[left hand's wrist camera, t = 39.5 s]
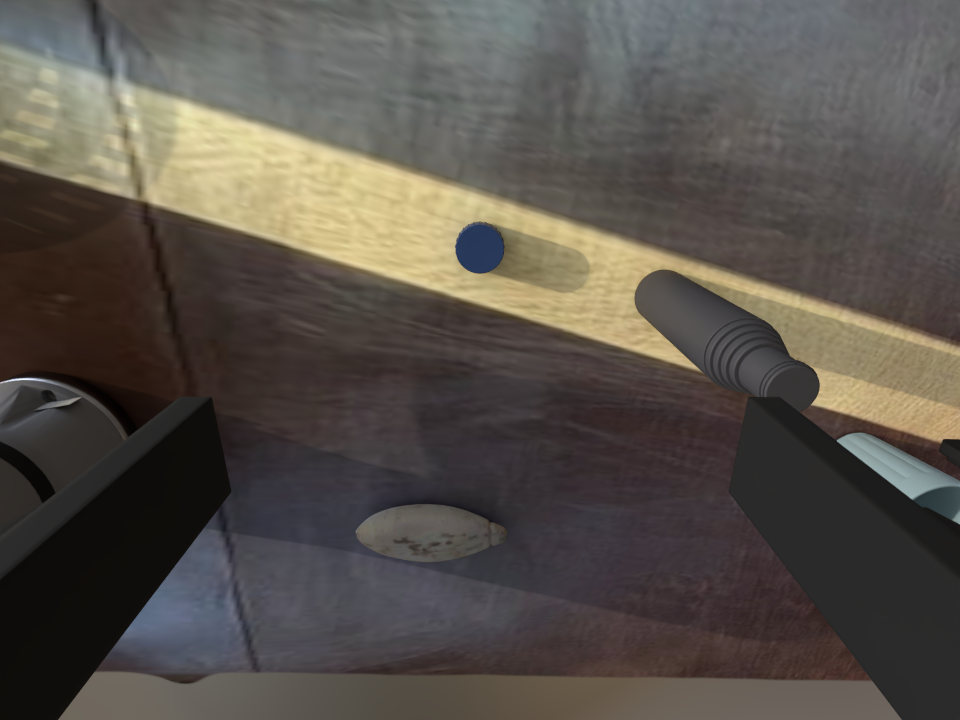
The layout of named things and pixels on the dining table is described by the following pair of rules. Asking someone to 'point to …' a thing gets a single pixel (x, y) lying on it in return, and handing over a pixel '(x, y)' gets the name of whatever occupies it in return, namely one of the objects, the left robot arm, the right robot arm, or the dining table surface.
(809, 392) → the bottle
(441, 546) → the decorative stone
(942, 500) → the cup
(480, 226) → the cap
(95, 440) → the left robot arm
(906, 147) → the dining table surface
